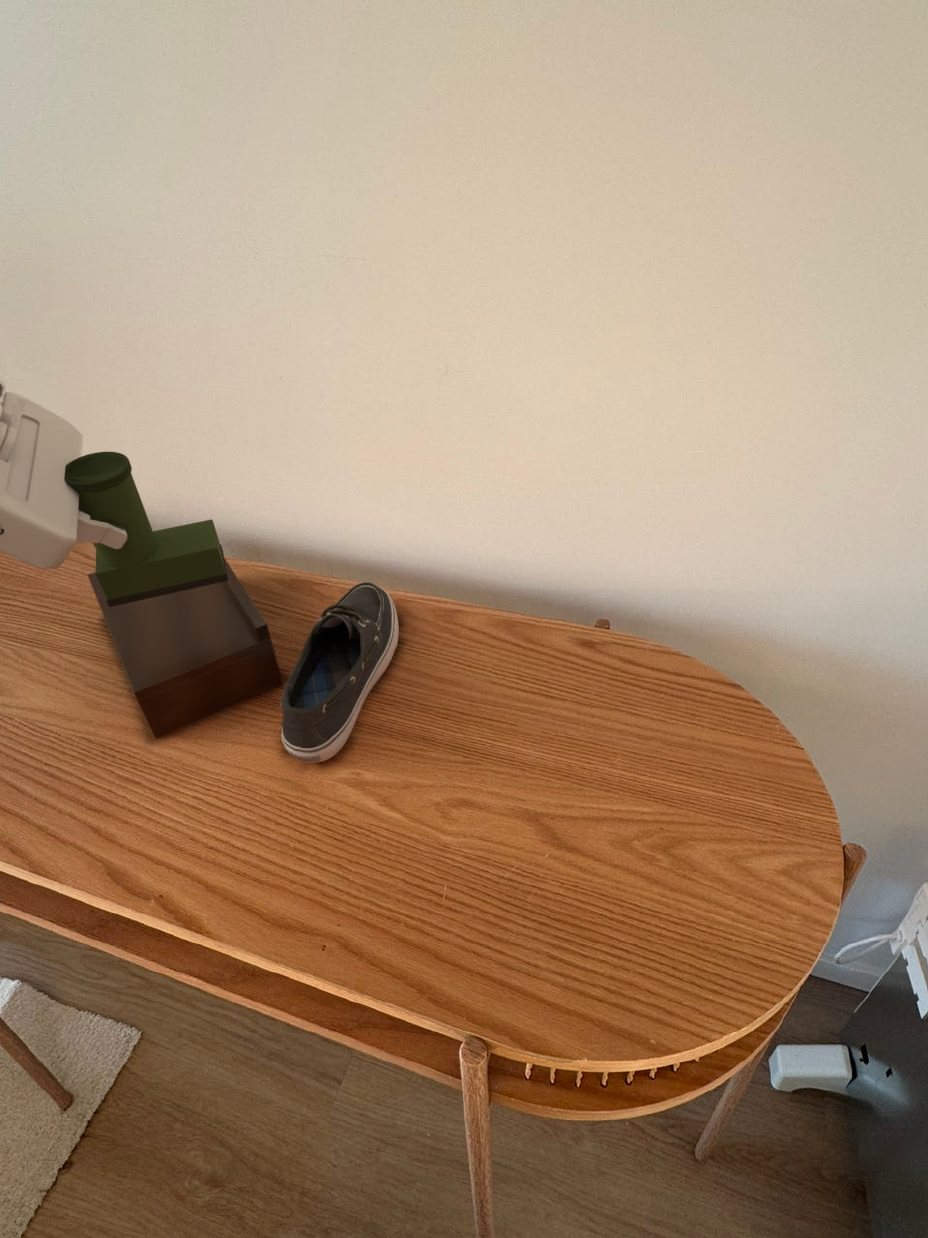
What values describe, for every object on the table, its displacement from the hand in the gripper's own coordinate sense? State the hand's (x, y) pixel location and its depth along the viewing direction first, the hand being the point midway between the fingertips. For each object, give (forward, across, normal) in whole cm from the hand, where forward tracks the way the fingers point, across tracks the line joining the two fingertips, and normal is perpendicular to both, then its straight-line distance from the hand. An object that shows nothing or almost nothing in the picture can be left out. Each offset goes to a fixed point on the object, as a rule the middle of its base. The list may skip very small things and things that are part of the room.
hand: (123, 519), depth 67 cm
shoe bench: (+16, +5, +14) cm, 22 cm away
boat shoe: (+27, -6, +4) cm, 28 cm away
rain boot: (+7, 0, +4) cm, 8 cm away
